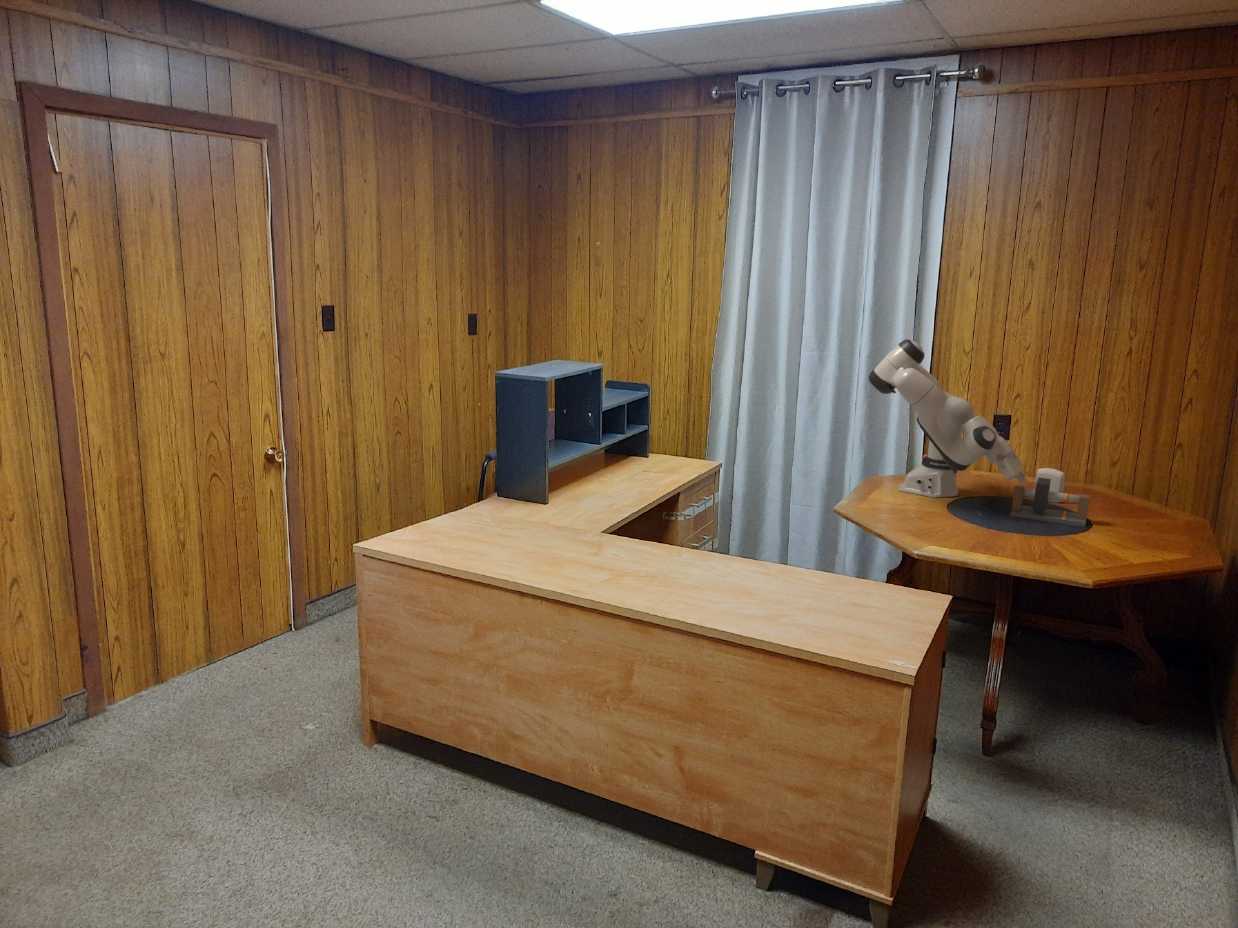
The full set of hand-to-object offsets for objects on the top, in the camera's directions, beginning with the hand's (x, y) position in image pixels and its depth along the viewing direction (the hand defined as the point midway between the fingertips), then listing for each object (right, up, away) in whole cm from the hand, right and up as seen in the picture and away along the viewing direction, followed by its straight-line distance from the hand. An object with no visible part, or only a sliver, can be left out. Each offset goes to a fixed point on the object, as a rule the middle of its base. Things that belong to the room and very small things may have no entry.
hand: (1025, 482), depth 310 cm
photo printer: (+19, -7, +22) cm, 29 cm away
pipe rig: (+7, -12, -1) cm, 14 cm away
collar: (+5, -9, -1) cm, 10 cm away
